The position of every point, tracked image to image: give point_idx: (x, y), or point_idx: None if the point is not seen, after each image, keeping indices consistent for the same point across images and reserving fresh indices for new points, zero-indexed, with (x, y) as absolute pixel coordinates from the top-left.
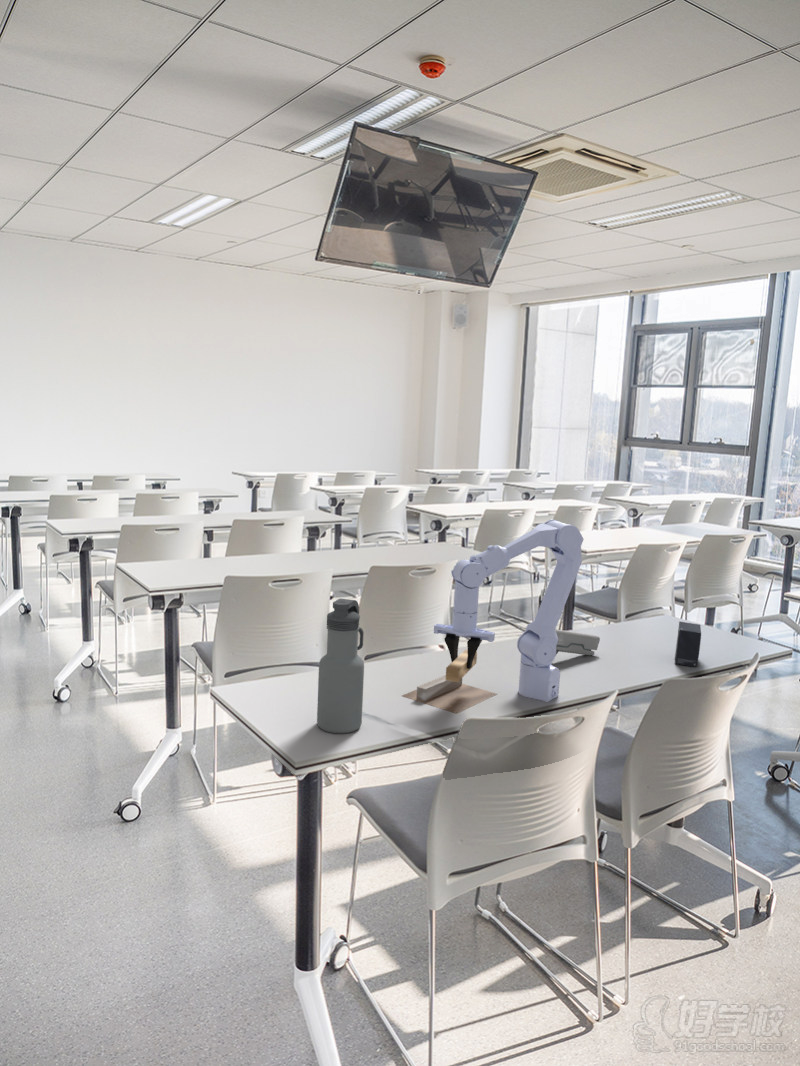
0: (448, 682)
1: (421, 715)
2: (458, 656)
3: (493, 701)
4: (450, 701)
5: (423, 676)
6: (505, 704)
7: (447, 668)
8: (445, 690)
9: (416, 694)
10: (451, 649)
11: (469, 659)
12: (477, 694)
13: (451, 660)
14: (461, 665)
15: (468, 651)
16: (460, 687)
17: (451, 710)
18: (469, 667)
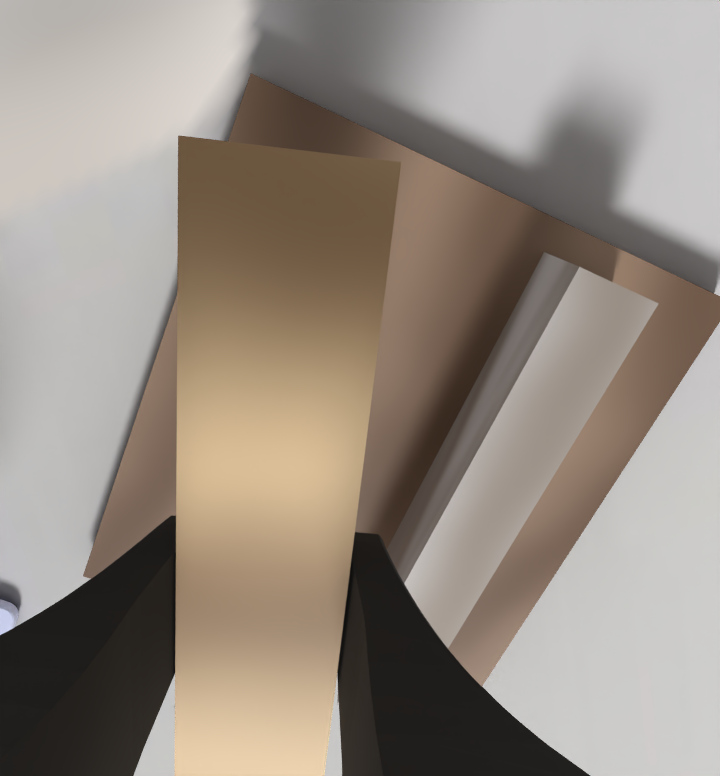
0: (413, 547)
1: (530, 20)
2: (330, 701)
3: (98, 495)
4: None
5: (596, 723)
6: (10, 473)
7: (379, 162)
8: (422, 491)
9: (618, 371)
10: (413, 669)
11: (120, 569)
12: None
13: (393, 566)
14: (198, 372)
15: (84, 651)
16: None
17: (305, 129)
18: (161, 523)
